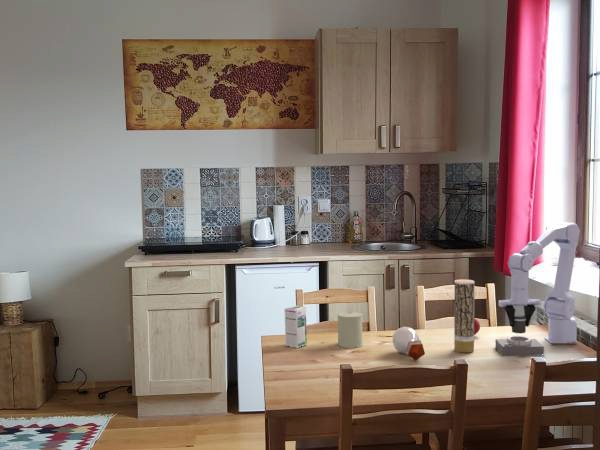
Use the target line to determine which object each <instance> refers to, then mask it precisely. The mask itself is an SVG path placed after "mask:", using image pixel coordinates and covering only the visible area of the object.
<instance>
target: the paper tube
mask: <svg viewBox="0 0 600 450" xmlns="http://www.w3.org/2000/svg"><path fill="white" fill-rule="evenodd" d="M475 286H476V285H475V280H472V279H465V278H464V279H455V280H454V317H453V318H454V319H453V320H454V322H453V323H454V325H453V327H454V329H453V331H454V334H453V335H454V338H453V339H454V344H453V345H454V350H455V352H458V353H465V354H468V353H469V354H470V353H472V352H474V350H475V335H474V318H475Z"/></svg>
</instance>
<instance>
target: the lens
mask: <svg viewBox="0 0 600 450" xmlns="http://www.w3.org/2000/svg"><path fill="white" fill-rule="evenodd" d="M526 328H527V326H526V316H525V314H524V315H523V314H515V315H514V327H511V332H512V333H515V334H526Z"/></svg>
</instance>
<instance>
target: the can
mask: <svg viewBox="0 0 600 450" xmlns="http://www.w3.org/2000/svg"><path fill="white" fill-rule="evenodd" d="M338 345H339V346H338ZM337 346H338V347H340V346H341V347H340V348H343V347H345V349H355V347H357V348H360V346H361V347H362V346H363V313H361V312H359V311H341V312H339V313H337Z"/></svg>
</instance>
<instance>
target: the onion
mask: <svg viewBox="0 0 600 450" xmlns="http://www.w3.org/2000/svg"><path fill="white" fill-rule="evenodd" d="M480 328H481V325H480V322H479V320H478V319H476V318H475V317H474V336H475V335H476V334H478V333H479V331H480Z"/></svg>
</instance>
